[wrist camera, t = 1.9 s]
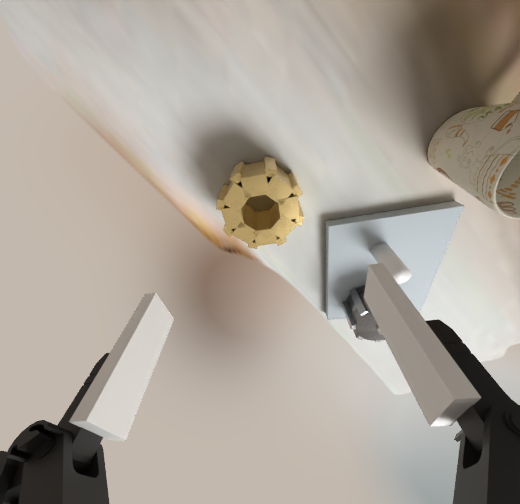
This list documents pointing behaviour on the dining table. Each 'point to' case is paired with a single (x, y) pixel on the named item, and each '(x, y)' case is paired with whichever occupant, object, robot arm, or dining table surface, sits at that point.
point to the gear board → (403, 240)
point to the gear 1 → (268, 221)
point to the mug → (482, 154)
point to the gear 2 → (361, 316)
